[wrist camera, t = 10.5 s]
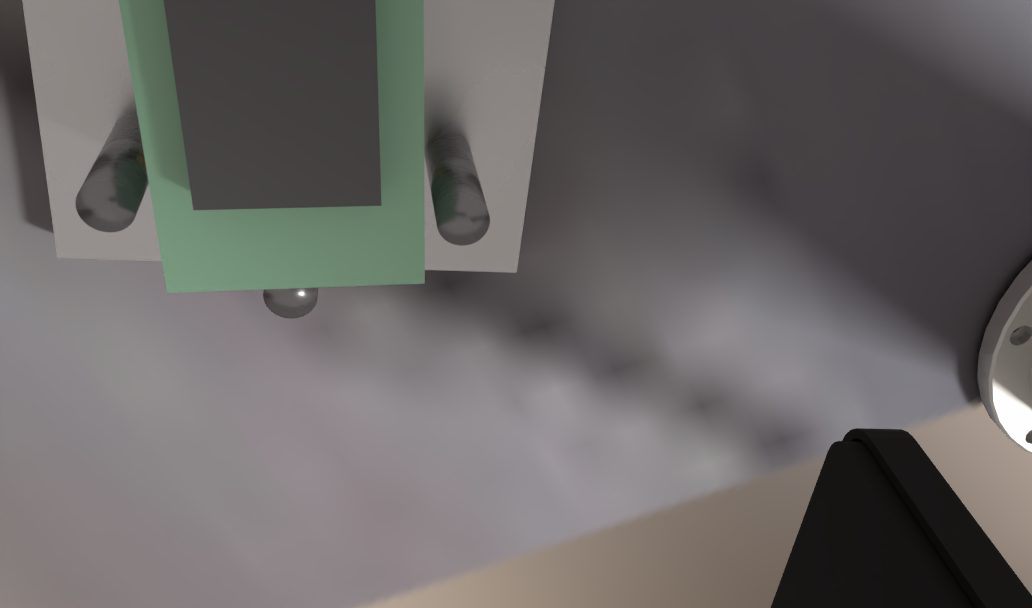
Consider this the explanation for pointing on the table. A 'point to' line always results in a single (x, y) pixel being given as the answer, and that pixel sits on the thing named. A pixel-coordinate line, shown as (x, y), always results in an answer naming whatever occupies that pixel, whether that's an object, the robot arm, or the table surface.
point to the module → (282, 140)
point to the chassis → (447, 133)
